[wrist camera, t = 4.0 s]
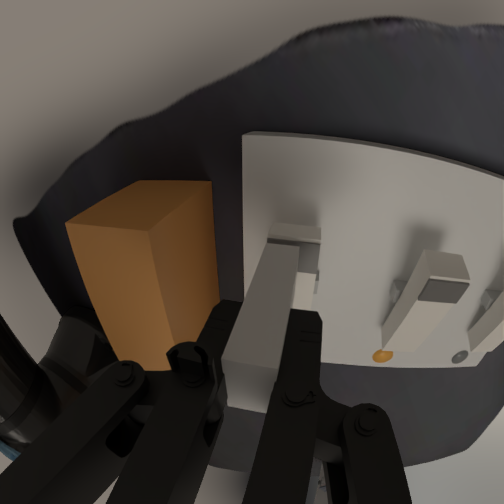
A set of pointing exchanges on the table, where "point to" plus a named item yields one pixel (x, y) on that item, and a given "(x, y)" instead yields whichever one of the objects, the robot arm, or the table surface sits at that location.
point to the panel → (376, 235)
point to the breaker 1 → (300, 257)
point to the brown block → (149, 266)
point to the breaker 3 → (488, 328)
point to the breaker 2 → (425, 300)
